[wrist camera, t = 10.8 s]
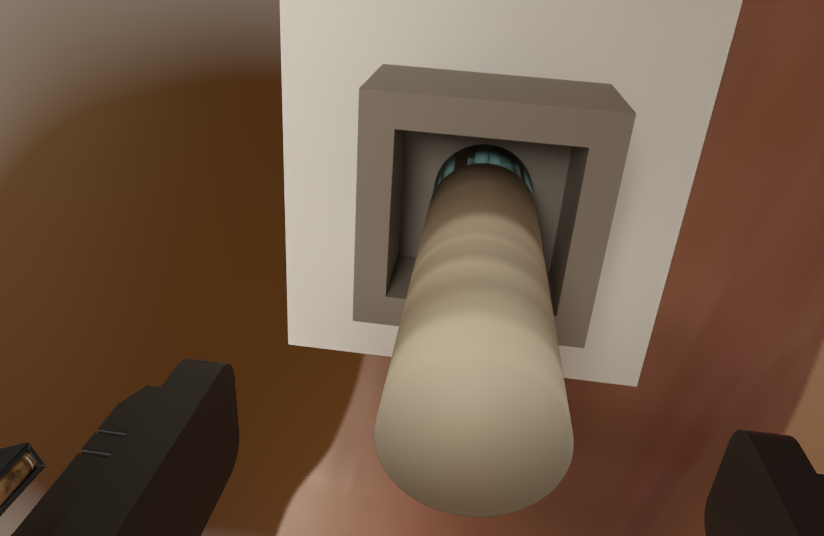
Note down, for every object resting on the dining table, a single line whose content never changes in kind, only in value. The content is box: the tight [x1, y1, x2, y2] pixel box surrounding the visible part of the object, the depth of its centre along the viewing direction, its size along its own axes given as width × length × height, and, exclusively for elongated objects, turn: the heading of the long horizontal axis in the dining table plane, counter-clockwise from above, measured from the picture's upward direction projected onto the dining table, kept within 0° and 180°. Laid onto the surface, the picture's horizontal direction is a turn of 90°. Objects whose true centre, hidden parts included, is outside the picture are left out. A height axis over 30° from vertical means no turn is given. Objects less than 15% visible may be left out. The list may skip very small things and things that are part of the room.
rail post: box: [374, 144, 574, 517], centre depth 16 cm, size 3×3×12 cm
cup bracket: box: [280, 0, 743, 387], centre depth 22 cm, size 20×16×9 cm
